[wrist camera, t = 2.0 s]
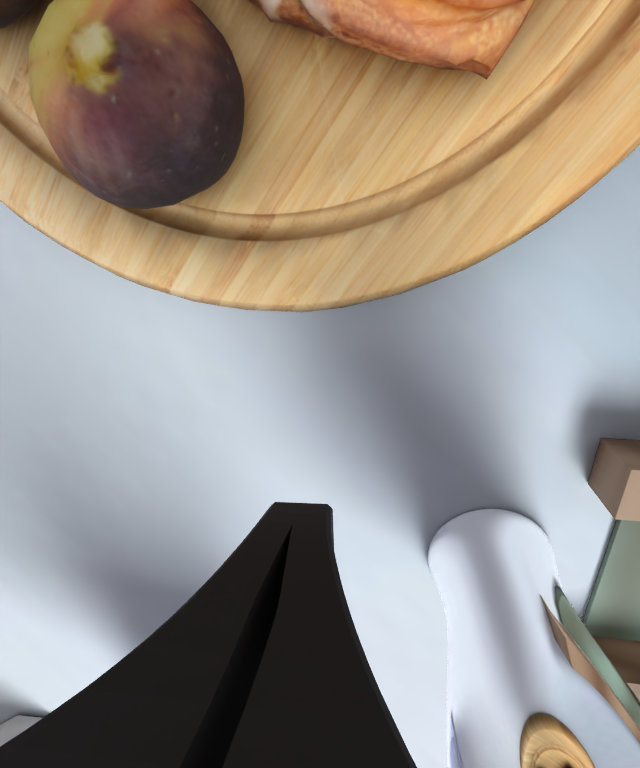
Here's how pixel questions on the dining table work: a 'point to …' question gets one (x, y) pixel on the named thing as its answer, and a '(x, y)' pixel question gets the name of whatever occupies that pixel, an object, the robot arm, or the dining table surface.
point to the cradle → (618, 559)
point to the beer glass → (523, 656)
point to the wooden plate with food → (308, 135)
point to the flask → (15, 727)
